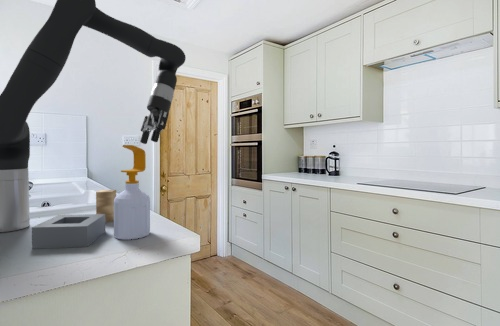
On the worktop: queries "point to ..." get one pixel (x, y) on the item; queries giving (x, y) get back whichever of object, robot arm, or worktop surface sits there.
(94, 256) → the worktop surface
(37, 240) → the well
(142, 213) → the soap bottle
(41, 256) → the worktop surface
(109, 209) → the oak post
